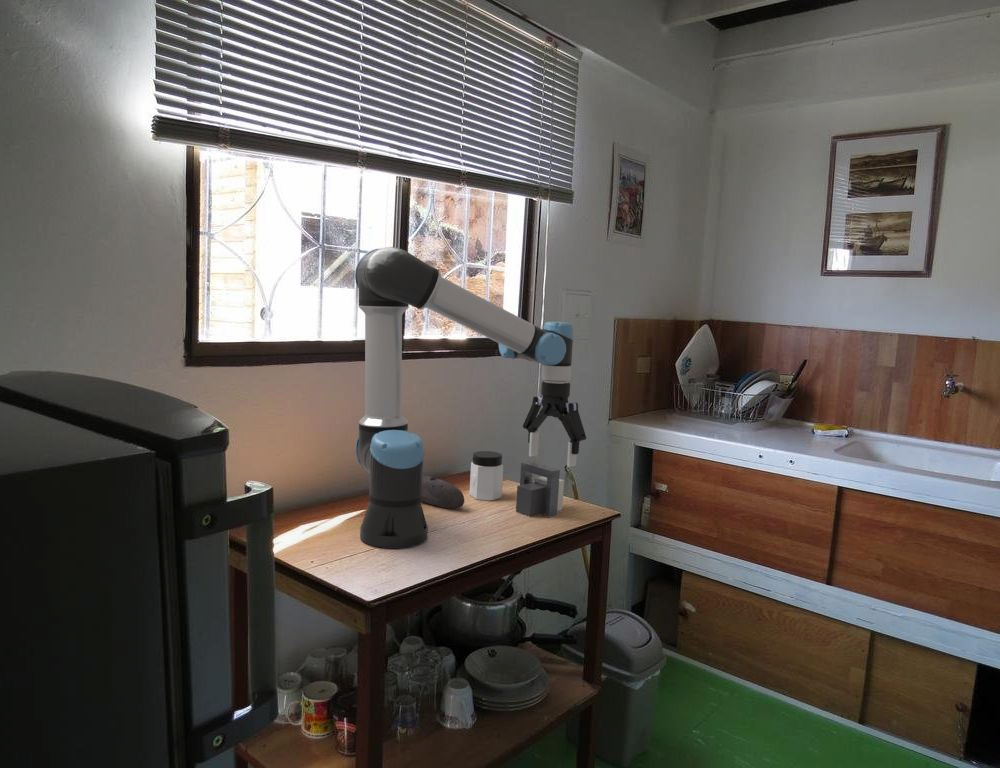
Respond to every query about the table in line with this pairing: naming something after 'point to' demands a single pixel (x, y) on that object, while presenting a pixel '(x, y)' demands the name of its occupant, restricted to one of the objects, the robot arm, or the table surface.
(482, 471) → the jar
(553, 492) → the frame
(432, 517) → the table surface
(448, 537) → the table surface
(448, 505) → the perforated stone tool
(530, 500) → the plug
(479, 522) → the table surface
